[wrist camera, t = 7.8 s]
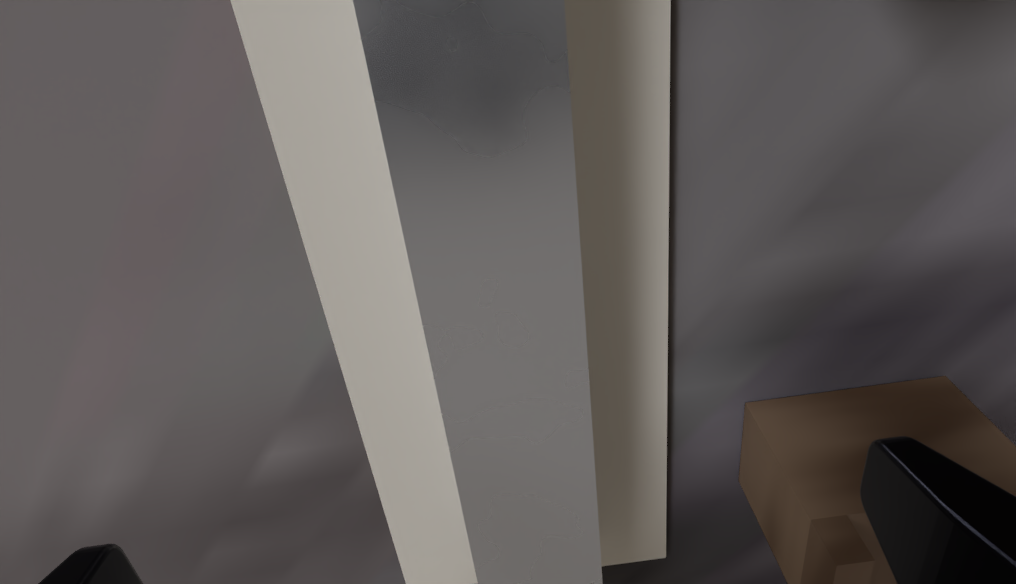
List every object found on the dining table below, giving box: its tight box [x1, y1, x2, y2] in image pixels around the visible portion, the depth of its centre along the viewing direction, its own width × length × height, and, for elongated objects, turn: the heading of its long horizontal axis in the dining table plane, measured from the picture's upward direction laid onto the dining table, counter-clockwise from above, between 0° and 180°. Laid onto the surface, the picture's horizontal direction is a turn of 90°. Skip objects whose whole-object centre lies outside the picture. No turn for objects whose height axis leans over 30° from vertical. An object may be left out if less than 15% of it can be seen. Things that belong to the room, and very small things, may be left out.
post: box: [739, 376, 1016, 584], centre depth 17 cm, size 6×3×5 cm, turn 96°
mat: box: [231, 0, 671, 584], centre depth 15 cm, size 8×24×1 cm, turn 6°
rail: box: [353, 0, 603, 584], centre depth 14 cm, size 3×22×3 cm, turn 6°
